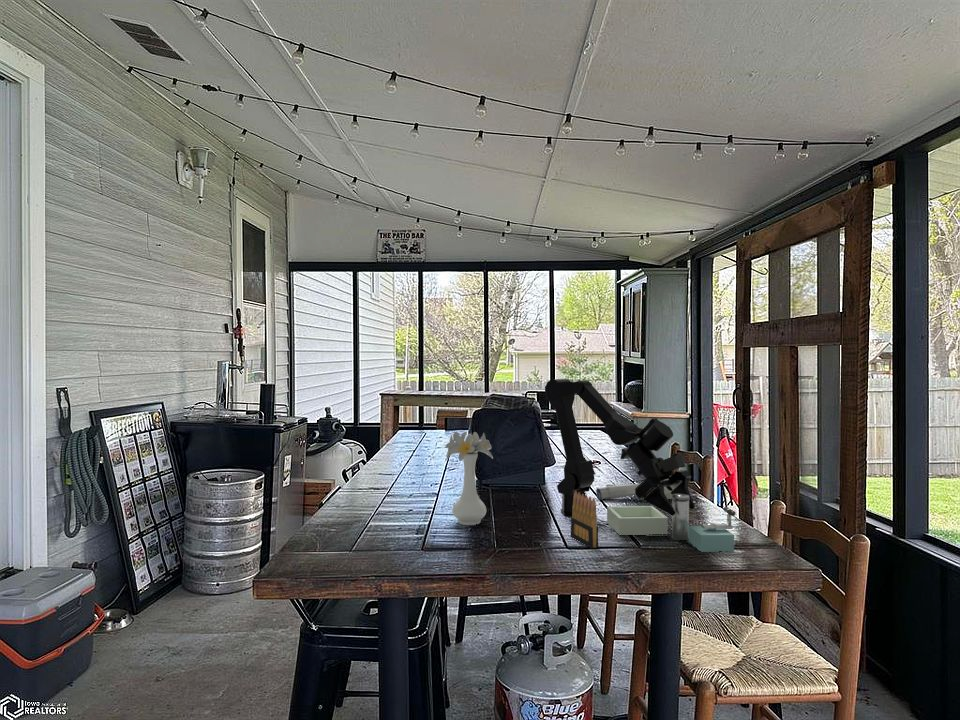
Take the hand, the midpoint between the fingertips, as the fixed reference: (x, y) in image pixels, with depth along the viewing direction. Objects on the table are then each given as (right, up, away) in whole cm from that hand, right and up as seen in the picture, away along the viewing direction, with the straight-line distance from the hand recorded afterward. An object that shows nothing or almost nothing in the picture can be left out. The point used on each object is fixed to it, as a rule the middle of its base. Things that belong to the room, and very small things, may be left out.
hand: (684, 511), depth 171 cm
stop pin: (-1, -7, +1) cm, 7 cm away
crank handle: (+6, -3, -6) cm, 9 cm away
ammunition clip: (-26, -7, -3) cm, 27 cm away
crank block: (+5, -7, -6) cm, 10 cm away
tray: (-10, -7, +10) cm, 15 cm away
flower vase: (-55, -7, +16) cm, 57 cm away
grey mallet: (-2, -6, +45) cm, 45 cm away
